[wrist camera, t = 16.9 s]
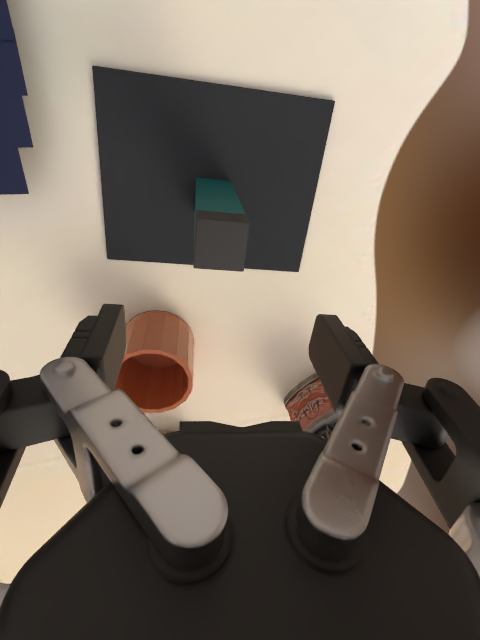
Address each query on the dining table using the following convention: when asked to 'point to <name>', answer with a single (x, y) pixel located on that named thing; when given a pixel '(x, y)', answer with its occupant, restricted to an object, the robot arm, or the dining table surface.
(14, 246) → the dining table surface
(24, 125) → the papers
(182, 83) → the mat
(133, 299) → the dining table surface
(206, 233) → the block
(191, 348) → the pen cup
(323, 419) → the lighter
